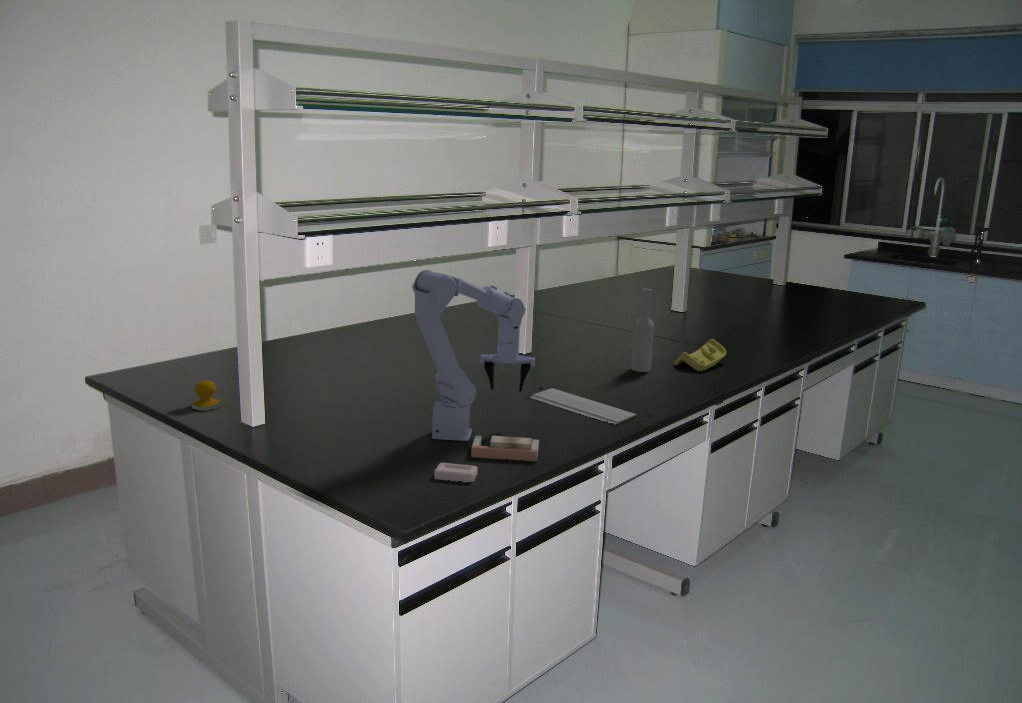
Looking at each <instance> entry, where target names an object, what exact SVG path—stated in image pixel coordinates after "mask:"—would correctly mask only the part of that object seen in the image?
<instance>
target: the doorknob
mask: <svg viewBox="0 0 1022 703" xmlns="http://www.w3.org/2000/svg"><path fill="white" fill-rule="evenodd" d="M193 390H194V392H195V393H196V395H197V396H198V397H199V399H197V400H194V402H193V401H192V402H193V404H194V405H195V406H197V407H203V406H204V407H207V406H213V405H216V404H218V402H219V401H218V400H219V399H218V398H214V399H213V397H212V396H213V395H214V394H215V392H216V390H217V386H216V384H215V382H213V381H211V380H206V379H205V380H204V379H203V380H200V381H198V382H196V384H195V385H194V387H193ZM217 399H218V400H217Z"/></svg>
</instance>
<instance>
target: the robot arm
mask: <svg viewBox="0 0 1022 703" xmlns="http://www.w3.org/2000/svg"><path fill="white" fill-rule="evenodd" d="M411 288H412V290H413V293H414V317H415V319H416V322H417V324H418V326H419V327H418V328H419V329H420V332H421V334H422V336H423V338H424V342H425V344H426V346H427V348H428V350H429V354H430V356H431V359H432V361H433V364H434V366H435V368H436V370H437V373H436V374H435V376H434V379H435V381H436V392H437V394H438V395H439V396H440V401H434V403H433V409H432V433H431V439H433V440H443V441H459V442H468V441H469V440H470V438H471V435H472V432H473V429H472V428H470V418H471V416H470V411H471V409H470V408H471V406H472V403H473V402H474V401H475V398H476V395H477V388H476V385H475V384H474V383H473V382H471V381H470V379H469V377H468V375H467V374H466V373H465V372H464V370H462V369H461V368H460V366H459V363H458V360H457V358H456V356H455V353H454V350H453V348H452V346H451V343H450V340H449V338H448V336H447V333H446V330H445V327H444V326H443V323H442V319H441V317H440V315H441V314H442V313H443V312H444V311H445V309H446V308H447V307H448V305H449V303H451V301H452V300H453V299H454V297H458V296H459V295H462V296H465V297H468V298H470V299H472V300H476V304H477V306H478V307H479V308H482V309H485V310H486V311H489V312H491V313H494V314H495V315H496V316H498V323H497V324H498V325H497V326H498V329H497V350H496V351H497V353H491V354H483V353H482V354H480V362H479V363H480V364H483V368H484V371H485V373H486V375H487V377H488V381H489V386H490V390H492V391H494V389H495V368H496V367H495V364H499V365H500V364H503V365H518V366H519V365H520V369H519V370H520V374H519V375H520V377H519V378H520V379H519V387H518V389H519V390H518V391H519V393H521V392H522V391H523V387H524V382H525V380H526V378H527V376H528V374H529V372H530V370H531V367H535V365H536V357H532V356H524V355H519V349H520V331H521V325H522V320H523V318H524V315H525V314H526V307H525V306H524V302H523V301H522V300H521V299H520V298H517V297H513V296H510V293H509V292H507V291H504V292H502V291H501V290H498V287H497V286H495V285H492V284H491V285H490V286H488V285H487V286H483V287H479V286H477V285H475V284H473V283H471V282H469V281H467V280H465V279H463V278H461V277H458V276H453V275H450V274H445V273H441V272H434V271H433V270H429V269H423V270H421V271H420V272H418V274H417V275H416V278H415V279H414V281H413V284H412V286H411Z"/></svg>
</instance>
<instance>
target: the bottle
mask: <svg viewBox="0 0 1022 703" xmlns="http://www.w3.org/2000/svg"><path fill="white" fill-rule="evenodd" d="M642 290H643V297H642V304H641V305H642V308H641V314H640V317H639V319H637V321H636V322H635V324H634V332H633V344H632V352H631V364H630V370H631V369H632V370H634V371H637V372H636V373H639V372H648V373H650V372H651V371H650V370H651V369H652V359H653V358H652V356H653V345H654V344H653V343H654V333H655V331H654V330H655V324H654V322H653V321H652V318H651V317H650V312H651V310H650V309H651V298H652V297H651V296H652V289H651V288H643V289H642ZM632 370H631V371H632ZM634 371H633V372H634ZM649 371H650V372H649Z"/></svg>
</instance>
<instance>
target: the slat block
mask: <svg viewBox="0 0 1022 703" xmlns="http://www.w3.org/2000/svg"><path fill="white" fill-rule="evenodd" d="M532 443H533V438H531V437H519V436H517V437H516V436H501V435H492V436H491V438H490V445H489V446H491V447H506V448H521V449H532Z"/></svg>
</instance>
